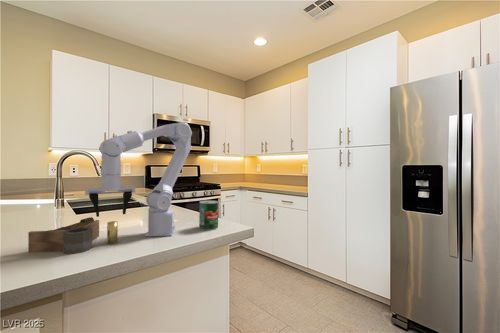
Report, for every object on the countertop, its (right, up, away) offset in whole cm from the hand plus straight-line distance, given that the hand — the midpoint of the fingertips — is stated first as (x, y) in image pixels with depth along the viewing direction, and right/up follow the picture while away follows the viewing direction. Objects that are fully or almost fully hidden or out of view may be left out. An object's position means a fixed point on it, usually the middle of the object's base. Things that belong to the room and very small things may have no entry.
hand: (111, 214), depth 81 cm
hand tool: (-21, -9, +10) cm, 25 cm away
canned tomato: (+30, -10, +20) cm, 37 cm away
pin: (+1, -9, 0) cm, 9 cm away
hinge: (-12, -9, -2) cm, 16 cm away
